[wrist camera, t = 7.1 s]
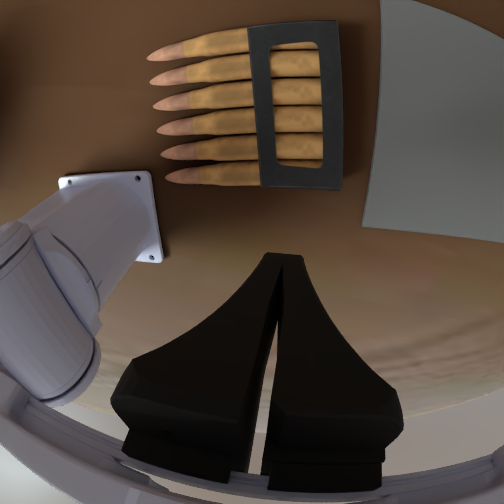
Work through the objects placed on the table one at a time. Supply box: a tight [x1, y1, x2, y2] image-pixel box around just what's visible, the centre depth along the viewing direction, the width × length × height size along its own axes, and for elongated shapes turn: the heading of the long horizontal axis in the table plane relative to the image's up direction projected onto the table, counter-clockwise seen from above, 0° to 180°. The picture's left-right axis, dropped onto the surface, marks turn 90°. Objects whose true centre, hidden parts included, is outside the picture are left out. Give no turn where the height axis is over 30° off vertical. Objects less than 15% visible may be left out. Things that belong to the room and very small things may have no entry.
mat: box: [362, 0, 504, 243], centre depth 15 cm, size 15×17×1 cm
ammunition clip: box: [147, 20, 343, 191], centre depth 16 cm, size 11×2×12 cm
